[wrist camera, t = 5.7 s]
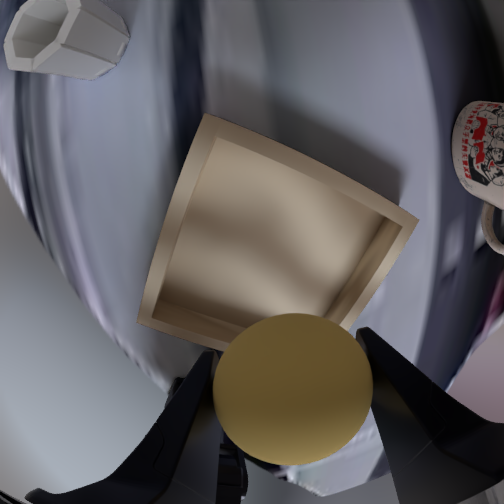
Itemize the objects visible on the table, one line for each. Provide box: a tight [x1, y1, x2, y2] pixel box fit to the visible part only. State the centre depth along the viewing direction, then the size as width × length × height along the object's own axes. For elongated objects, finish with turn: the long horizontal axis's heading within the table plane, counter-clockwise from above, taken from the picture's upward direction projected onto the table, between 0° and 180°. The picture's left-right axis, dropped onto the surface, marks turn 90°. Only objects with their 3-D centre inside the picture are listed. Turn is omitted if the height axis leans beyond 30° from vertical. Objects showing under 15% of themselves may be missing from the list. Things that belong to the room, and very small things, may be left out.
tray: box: [136, 113, 419, 352], centre depth 20 cm, size 15×15×3 cm
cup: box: [4, 0, 130, 81], centre depth 10 cm, size 5×5×7 cm
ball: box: [213, 313, 373, 465], centre depth 8 cm, size 5×5×5 cm
